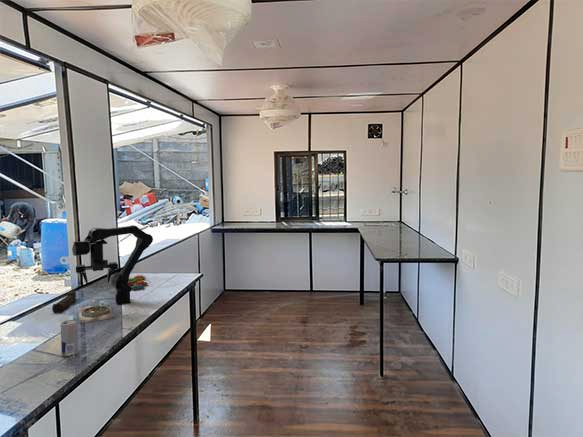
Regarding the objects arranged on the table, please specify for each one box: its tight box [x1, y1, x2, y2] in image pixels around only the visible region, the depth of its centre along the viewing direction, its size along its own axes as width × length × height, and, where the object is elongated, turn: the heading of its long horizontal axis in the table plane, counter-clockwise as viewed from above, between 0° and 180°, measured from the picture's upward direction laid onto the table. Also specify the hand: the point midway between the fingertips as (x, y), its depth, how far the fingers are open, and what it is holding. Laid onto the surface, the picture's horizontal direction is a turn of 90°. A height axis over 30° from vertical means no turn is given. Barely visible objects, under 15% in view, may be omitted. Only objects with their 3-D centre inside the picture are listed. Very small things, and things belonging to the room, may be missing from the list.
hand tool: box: [51, 289, 77, 314], centre depth 197 cm, size 23×5×6 cm, turn 7°
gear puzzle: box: [115, 274, 149, 292], centre depth 240 cm, size 31×16×4 cm, turn 8°
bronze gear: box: [86, 299, 105, 313], centre depth 184 cm, size 8×8×6 cm
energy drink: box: [60, 319, 79, 357], centre depth 143 cm, size 5×5×12 cm
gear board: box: [77, 301, 115, 324], centre depth 185 cm, size 14×20×3 cm
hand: (97, 284), depth 194 cm, fingers open, 9 cm apart
